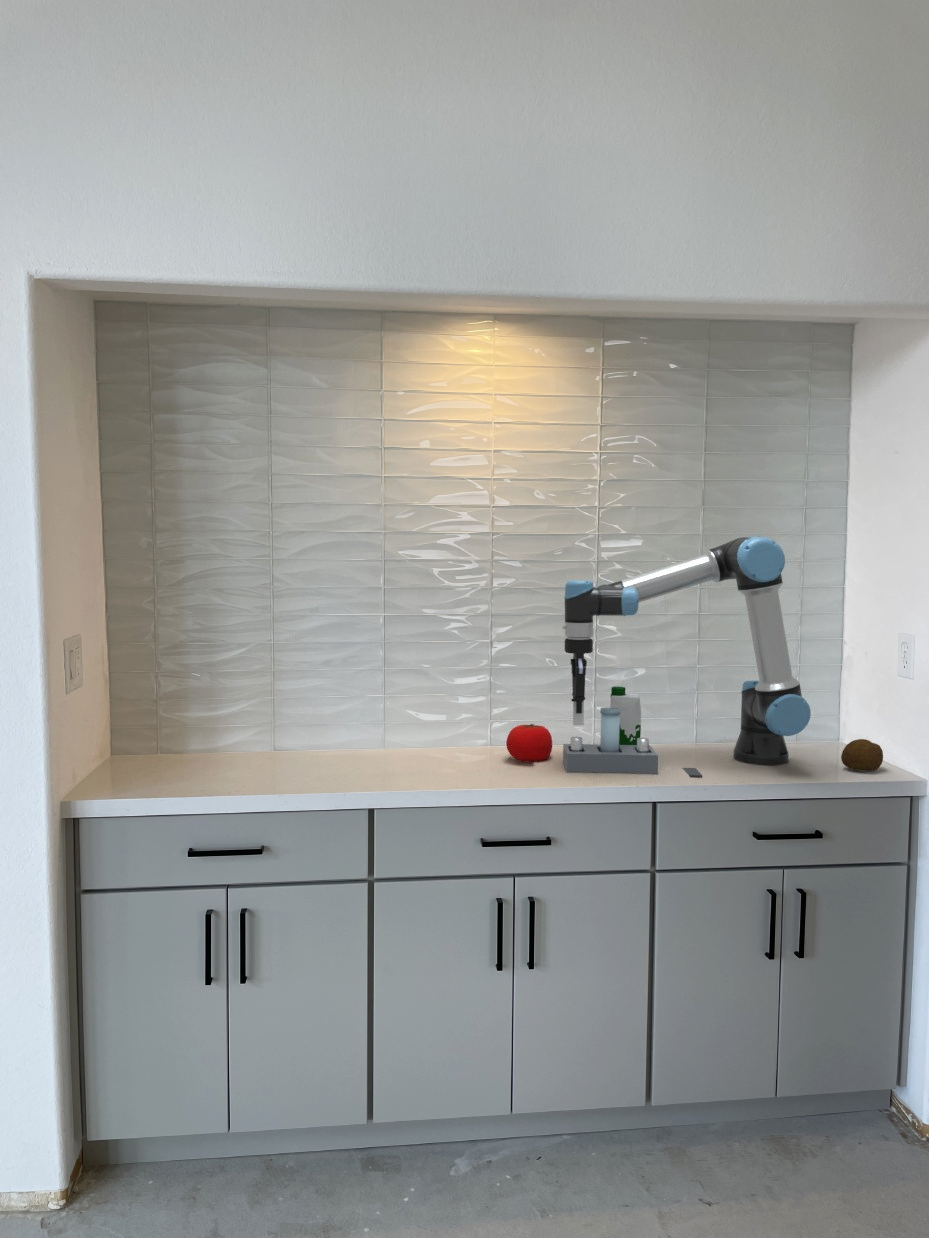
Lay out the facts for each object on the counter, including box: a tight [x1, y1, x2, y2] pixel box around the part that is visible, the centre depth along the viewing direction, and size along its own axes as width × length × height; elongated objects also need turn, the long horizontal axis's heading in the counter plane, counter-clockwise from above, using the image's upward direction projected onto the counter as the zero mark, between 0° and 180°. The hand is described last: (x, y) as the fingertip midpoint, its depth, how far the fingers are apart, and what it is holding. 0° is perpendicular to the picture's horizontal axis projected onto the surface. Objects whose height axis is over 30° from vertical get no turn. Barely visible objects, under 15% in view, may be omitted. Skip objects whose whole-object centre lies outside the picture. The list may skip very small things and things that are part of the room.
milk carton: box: [609, 686, 642, 745], centre depth 262 cm, size 9×9×20 cm
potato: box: [840, 738, 884, 772], centre depth 248 cm, size 8×12×9 cm
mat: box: [682, 767, 703, 779], centre depth 243 cm, size 8×8×1 cm
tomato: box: [505, 723, 553, 763], centre depth 255 cm, size 14×13×10 cm
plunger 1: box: [569, 736, 583, 752], centre depth 244 cm, size 3×3×7 cm
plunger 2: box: [637, 737, 650, 753], centre depth 243 cm, size 3×3×7 cm
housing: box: [562, 743, 659, 775], centre depth 244 cm, size 24×12×6 cm, turn 89°
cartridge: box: [599, 707, 621, 752], centre depth 243 cm, size 5×5×16 cm
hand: (578, 724), depth 243 cm, fingers closed
